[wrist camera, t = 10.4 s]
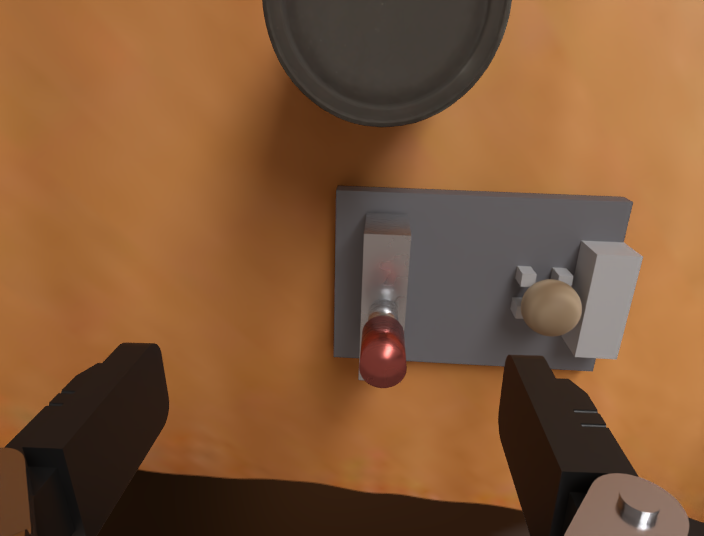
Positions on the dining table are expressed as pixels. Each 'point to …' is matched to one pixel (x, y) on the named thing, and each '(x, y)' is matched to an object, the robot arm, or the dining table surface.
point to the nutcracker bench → (492, 272)
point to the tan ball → (551, 307)
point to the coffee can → (385, 53)
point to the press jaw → (384, 299)
